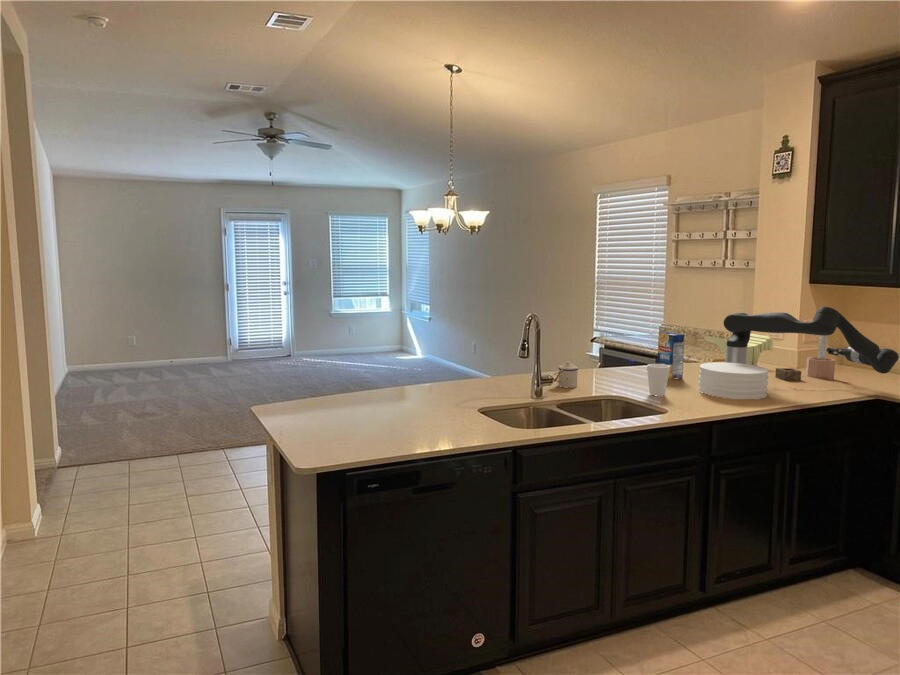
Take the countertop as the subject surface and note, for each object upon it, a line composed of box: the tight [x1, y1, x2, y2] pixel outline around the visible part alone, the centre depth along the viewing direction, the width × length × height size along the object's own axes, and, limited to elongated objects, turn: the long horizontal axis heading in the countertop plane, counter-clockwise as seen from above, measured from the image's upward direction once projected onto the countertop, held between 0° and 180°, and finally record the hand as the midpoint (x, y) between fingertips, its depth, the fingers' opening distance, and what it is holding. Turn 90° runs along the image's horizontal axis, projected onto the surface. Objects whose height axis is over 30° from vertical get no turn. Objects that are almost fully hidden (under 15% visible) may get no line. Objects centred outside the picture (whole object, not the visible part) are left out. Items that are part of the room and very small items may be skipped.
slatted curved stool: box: [705, 333, 774, 366], centre depth 340 cm, size 30×16×18 cm, turn 109°
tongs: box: [817, 335, 828, 361], centre depth 313 cm, size 3×2×24 cm
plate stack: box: [697, 361, 770, 400], centre depth 282 cm, size 28×28×12 cm
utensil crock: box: [805, 356, 836, 381], centre depth 314 cm, size 11×11×10 cm
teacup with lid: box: [553, 361, 579, 388], centre depth 294 cm, size 12×9×12 cm
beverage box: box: [656, 331, 686, 380], centre depth 317 cm, size 7×11×22 cm, turn 22°
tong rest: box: [774, 367, 802, 382], centre depth 307 cm, size 8×8×6 cm
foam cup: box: [646, 363, 670, 397], centre depth 277 cm, size 10×9×13 cm
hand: (836, 349), depth 301 cm, fingers open, 8 cm apart
